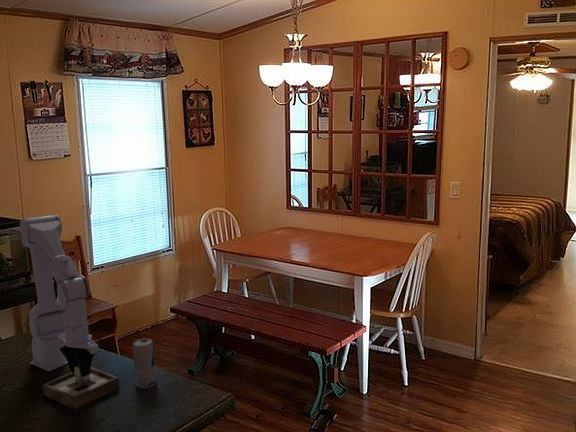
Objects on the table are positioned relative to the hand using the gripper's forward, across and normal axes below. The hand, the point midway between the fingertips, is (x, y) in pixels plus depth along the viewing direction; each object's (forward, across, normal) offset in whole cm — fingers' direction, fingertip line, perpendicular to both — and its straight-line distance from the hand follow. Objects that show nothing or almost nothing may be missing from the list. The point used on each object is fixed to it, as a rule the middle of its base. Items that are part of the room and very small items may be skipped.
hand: (80, 373), depth 148 cm
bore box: (+5, 0, 0) cm, 5 cm away
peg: (+3, 0, -1) cm, 3 cm away
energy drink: (+5, -11, -12) cm, 17 cm away
